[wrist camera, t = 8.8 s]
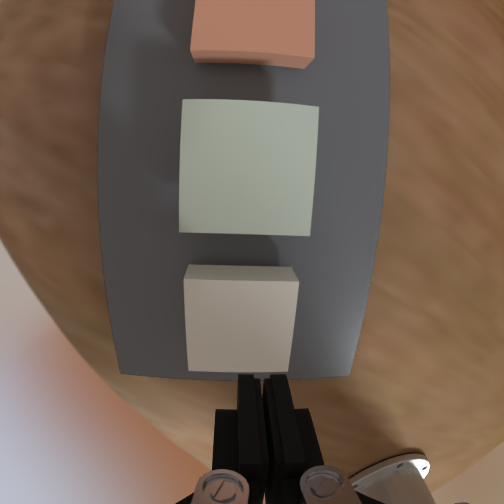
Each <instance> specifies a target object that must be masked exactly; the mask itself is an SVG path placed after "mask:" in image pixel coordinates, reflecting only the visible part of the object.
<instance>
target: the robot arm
mask: <svg viewBox="0 0 504 504" xmlns="http://www.w3.org/2000/svg"><path fill="white" fill-rule="evenodd" d="M429 468H430V463H429V461H428V459H427V457H426V456H424V455H422V454H405V455H401V456H397V457H394V458H391V459H388V460H385V461H383V462H380V463H378V464H376V465H373V466H371V467H369V468H367V469H365V470H364V471H362V472H360V473H358V474H356V475H355V476H353V477H352V478H350V479H348V477H347V476H346V475H345V473H344V472H342V471H341V470H340V469H338V468H335V467H332V466H326V465H324V462H323V458H322V454H321V451H320V447H319V444H318V440H317V436H316V433H315V429H314V426H313V422H312V419H311V415H310V412H309V410H308V408H305V409H294V406H293V402H292V397H291V393H290V388H289V384H288V380H287V376H286V374H270V378H264V384H263V395H262V394H261V385H260V378H254V374H238V391H237V410H225V409H216V412H215V427H214V443H213V461H212V471H210V472H208V473H206V474H204V475H203V476H202V477H201V478H200V479H199V481H198V483H197V485H196V489H195V492H194V493H192V494H191V495H189V496H187V497H186V498H184V499H183V500H181V501H179V502H177V503H176V504H262V503H263V498H264V492H265V502H266V504H436V503H435V501H434V499H433V497H432V495H431V493H430V491H429V489H428V487H427V485H426V483H425V481H424V477H425V476H426V475H427V473H428V471H429ZM455 504H469V503H466V502H465V503H455Z"/></svg>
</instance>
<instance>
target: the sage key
mask: <svg viewBox="0 0 504 504" xmlns="http://www.w3.org/2000/svg"><path fill="white" fill-rule="evenodd" d="M318 119H319V107H317V106H308V105H300V104H290V103H279V102H266V101H250V100H226V99H183V101H182V118H181V140H180V171H179V232H186V233H226V234H260V235H290V236H310V230H311V219H312V208H313V196H314V183H315V169H316V154H317V138H318Z"/></svg>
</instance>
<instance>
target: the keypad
mask: <svg viewBox="0 0 504 504" xmlns="http://www.w3.org/2000/svg"><path fill="white" fill-rule="evenodd" d="M195 1H196V0H114V3H113V8H112V13H111V19H110V24H109V30H108V36H107V42H106V49H105V57H104V65H103V73H102V83H101V94H100V107H99V124H98V209H99V227H100V241H101V253H102V263H103V272H104V281H105V289H106V296H107V303H108V310H109V316H110V322H111V328H112V334H113V339H114V344H115V349H116V354H117V359H118V364H119V369H120V373H121V374H129V375H138V376H149V377H161V378H175V379H192V380H221V381H238V374H254V378H260V381H264V378H270V374H286V376H287V380H298V379H315V378H329V377H341V376H349V375H350V371H351V367H352V363H353V360H354V356H355V352H356V348H357V344H358V340H359V336H360V331H361V327H362V323H363V318H364V313H365V309H366V304H367V299H368V294H369V289H370V284H371V278H372V273H373V267H374V261H375V255H376V249H377V243H378V236H379V229H380V222H381V214H382V206H383V197H384V187H385V177H386V166H387V152H388V136H389V112H390V54H389V31H388V16H387V4H386V0H315V58H314V59H313V60H312V61H311V63H310V64H309V65H308V66H307V67H306V68H305V69H300V68H292V67H282V66H271V65H258V64H241V63H195V62H194V59H193V57H192V54H191V52H190V46H191V35H192V26H193V17H194V9H195ZM183 99H226V100H250V101H266V102H279V103H290V104H300V105H308V106H317V107H319V119H318V138H317V154H316V169H315V183H314V196H313V208H312V219H311V230H310V236H290V235H260V234H226V233H186V232H179V171H180V140H181V118H182V101H183ZM189 264H195V265H233V266H276V267H292V269H293V271H294V272H295V274H296V276H297V278H298V280H299V289H298V297H297V306H296V314H295V322H294V330H293V338H292V345H291V353H290V360H289V367H288V372H203V371H188V358H187V343H186V326H185V305H184V276H185V273H186V270H187V268H188V265H189Z"/></svg>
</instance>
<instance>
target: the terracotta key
mask: <svg viewBox="0 0 504 504" xmlns="http://www.w3.org/2000/svg"><path fill="white" fill-rule="evenodd" d="M190 52H191V54H192V57H193V59H194V62H195V63H241V64H258V65H271V66H282V67H292V68H300V69H305V68H306V67H307V66H308V65H309V64H310V63H311V61H312V60H313V59H314V58H315V0H196V1H195V9H194V17H193V26H192V35H191V46H190Z"/></svg>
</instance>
